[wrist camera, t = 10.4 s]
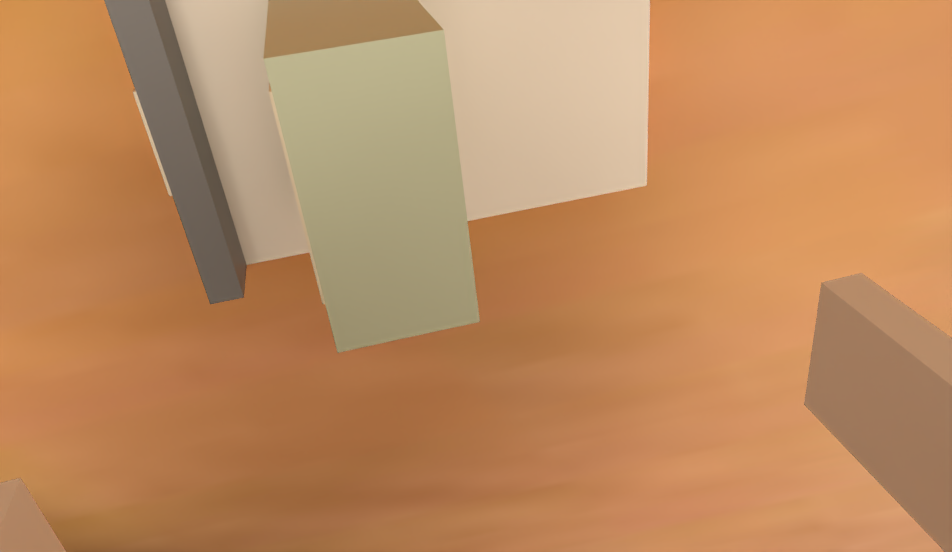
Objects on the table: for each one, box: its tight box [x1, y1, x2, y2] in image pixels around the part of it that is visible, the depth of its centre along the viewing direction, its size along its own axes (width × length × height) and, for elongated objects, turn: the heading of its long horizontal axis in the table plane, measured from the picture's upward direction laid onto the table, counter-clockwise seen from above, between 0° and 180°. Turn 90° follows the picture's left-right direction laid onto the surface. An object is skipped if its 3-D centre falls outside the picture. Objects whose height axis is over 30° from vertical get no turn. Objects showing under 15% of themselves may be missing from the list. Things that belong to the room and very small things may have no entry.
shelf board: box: [104, 0, 650, 304], centre depth 27 cm, size 18×12×4 cm, turn 96°
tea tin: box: [264, 0, 480, 353], centre depth 23 cm, size 8×4×10 cm, turn 6°
